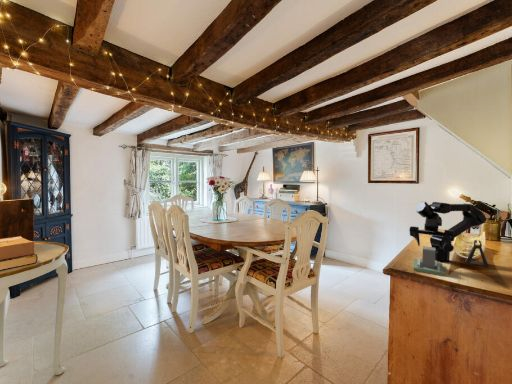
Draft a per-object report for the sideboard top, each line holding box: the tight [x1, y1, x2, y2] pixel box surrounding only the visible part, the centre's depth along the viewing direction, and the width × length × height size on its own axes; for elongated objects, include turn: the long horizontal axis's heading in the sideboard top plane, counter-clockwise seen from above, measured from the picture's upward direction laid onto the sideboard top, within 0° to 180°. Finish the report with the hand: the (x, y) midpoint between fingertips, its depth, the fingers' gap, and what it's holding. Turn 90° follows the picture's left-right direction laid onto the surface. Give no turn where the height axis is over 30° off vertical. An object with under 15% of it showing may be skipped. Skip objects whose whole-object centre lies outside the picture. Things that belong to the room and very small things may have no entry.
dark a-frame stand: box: [465, 239, 490, 268], centre depth 130 cm, size 9×6×12 cm, turn 49°
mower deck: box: [413, 258, 445, 277], centre depth 123 cm, size 12×16×3 cm
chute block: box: [421, 245, 436, 269], centre depth 122 cm, size 5×5×9 cm
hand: (429, 247), depth 123 cm, fingers open, 9 cm apart
